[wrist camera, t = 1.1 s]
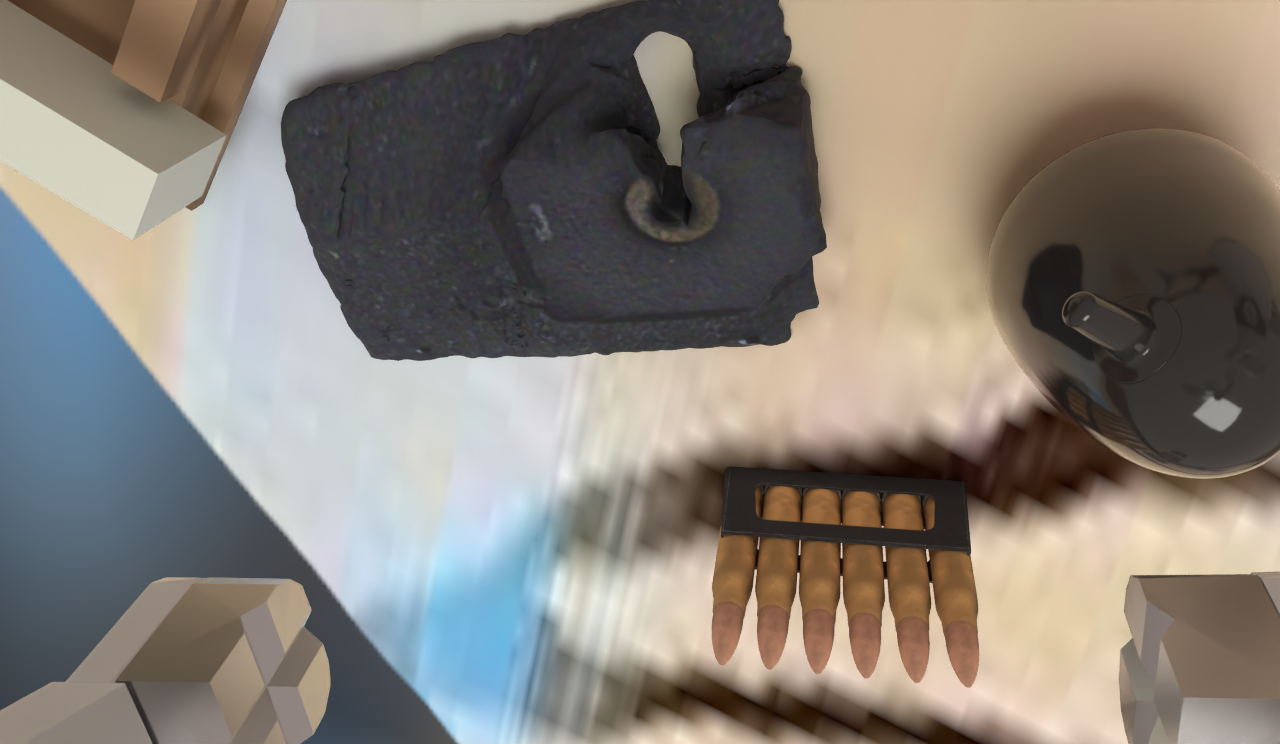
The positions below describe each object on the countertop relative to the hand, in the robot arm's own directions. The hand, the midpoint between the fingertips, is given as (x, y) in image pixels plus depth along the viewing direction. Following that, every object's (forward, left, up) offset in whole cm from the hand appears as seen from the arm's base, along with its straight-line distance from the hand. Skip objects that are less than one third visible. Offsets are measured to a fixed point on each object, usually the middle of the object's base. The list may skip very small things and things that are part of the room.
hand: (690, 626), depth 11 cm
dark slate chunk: (+12, -4, -35) cm, 37 cm away
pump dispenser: (0, +15, -35) cm, 38 cm away
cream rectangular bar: (+17, -24, -31) cm, 43 cm away
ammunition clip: (+16, +14, -35) cm, 41 cm away
